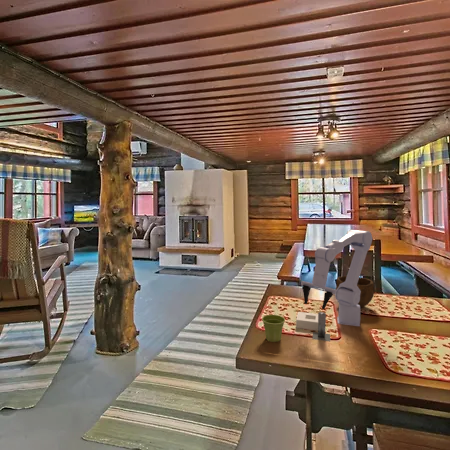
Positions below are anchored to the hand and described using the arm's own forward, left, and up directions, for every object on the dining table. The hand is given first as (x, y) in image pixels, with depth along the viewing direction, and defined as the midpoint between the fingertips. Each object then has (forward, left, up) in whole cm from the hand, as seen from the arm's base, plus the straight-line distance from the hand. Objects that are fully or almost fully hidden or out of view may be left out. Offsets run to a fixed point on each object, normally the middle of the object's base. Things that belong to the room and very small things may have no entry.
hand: (314, 306), depth 130 cm
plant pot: (+16, +10, -12) cm, 23 cm away
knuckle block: (+2, -8, -12) cm, 15 cm away
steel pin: (-3, +2, -12) cm, 13 cm away
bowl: (-19, -41, -12) cm, 47 cm away
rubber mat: (-3, +2, -12) cm, 13 cm away
